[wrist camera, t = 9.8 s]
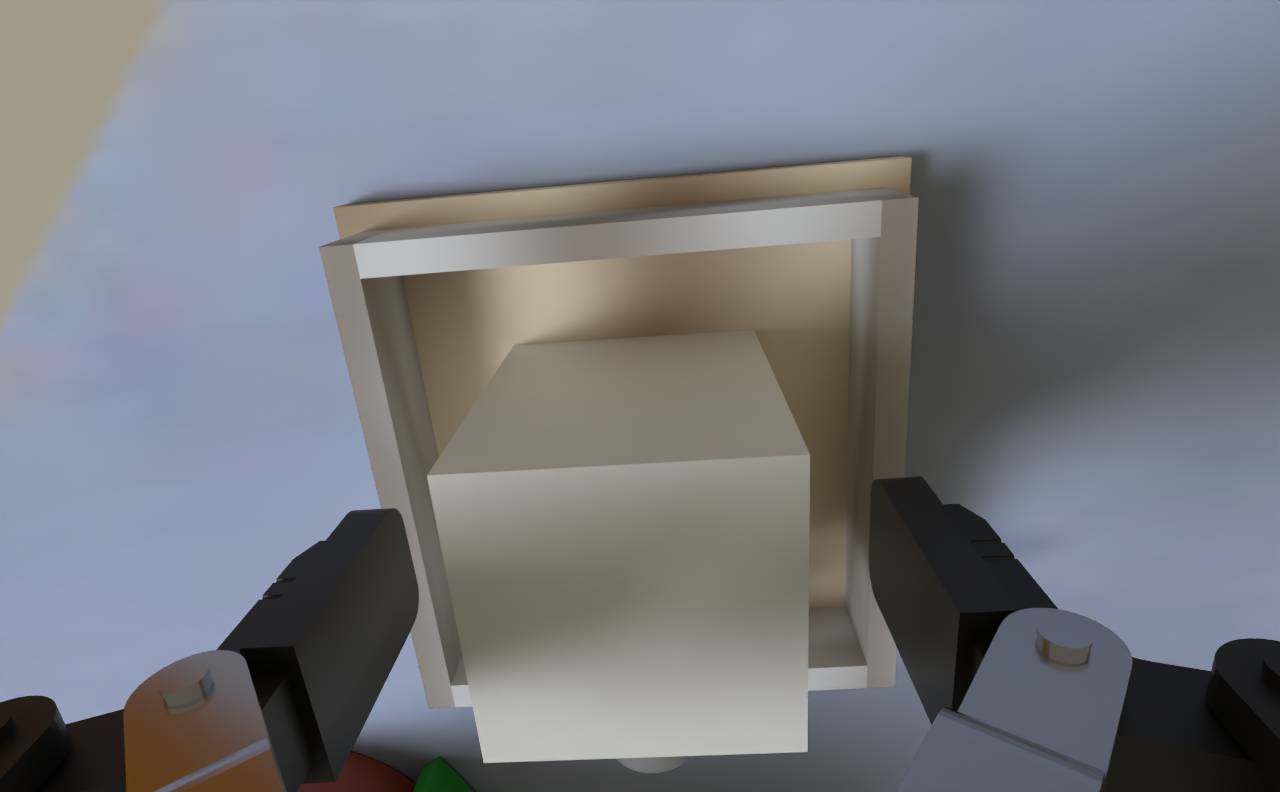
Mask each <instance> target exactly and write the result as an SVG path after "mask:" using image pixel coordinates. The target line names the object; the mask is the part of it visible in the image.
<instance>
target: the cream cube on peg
mask: <svg viewBox="0 0 1280 792" xmlns="http://www.w3.org/2000/svg"><path fill="white" fill-rule="evenodd" d="M427 480H428V485H429V490H430V495H431V500H432V505H433V510H434V515H435V520H436V525H437V530H438V535H439V540H440V545H441V550H442V555H443V560H444V565H445V570H446V575H447V581H448V586H449V591H450V596H451V601H452V606H453V611H454V616H455V621H456V626H457V631H458V636H459V641H460V646H461V651H462V656H463V661H464V666H465V671H466V676H467V681H468V686H469V691H470V696H471V701H472V707H473V712H474V717H475V722H476V727H477V732H478V737H479V742H480V747H481V752H482V757H483V762H484V763H499V762H529V761H558V760H587V759H617V760H618V761H619V762H620V763H621V764H622V765H624V766H625V767H627V768H629V769H632V770H634V771H638V772H642V773H661V772H666V771H669V770H672V769H675V768H677V767H679V766H680V765H682V764H684V763H685V762H686V761H688V760H689V759H690V758H691V757H692V756H704V755H734V754H763V753H792V752H808V636H809V518H810V453H809V451H808V449H807V447H806V444H805V442H804V440H803V438H802V435H801V433H800V431H799V429H798V427H797V424H796V422H795V420H794V418H793V415H792V413H791V411H790V409H789V407H788V404H787V402H786V400H785V398H784V395H783V393H782V391H781V389H780V387H779V384H778V382H777V380H776V378H775V375H774V373H773V371H772V369H771V367H770V364H769V362H768V360H767V358H766V355H765V353H764V351H763V349H762V347H761V344H760V342H759V340H758V338H757V335H756V333H755V331H754V330H740V331H725V332H709V333H694V334H678V335H663V336H647V337H632V338H616V339H601V340H585V341H570V342H554V343H539V344H523V345H513V347H512V348H511V350H510V351H509V353H508V354H507V356H506V357H505V359H504V360H503V362H502V363H501V365H500V366H499V368H498V369H497V371H496V372H495V374H494V375H493V377H492V378H491V380H490V381H489V383H488V384H487V386H486V387H485V389H484V390H483V392H482V393H481V395H480V396H479V398H478V399H477V401H476V402H475V404H474V405H473V407H472V408H471V410H470V411H469V413H468V414H467V416H466V417H465V419H464V420H463V422H462V423H461V425H460V426H459V428H458V429H457V431H456V432H455V434H454V435H453V437H452V438H451V440H450V441H449V443H448V444H447V446H446V447H445V449H444V450H443V452H442V453H441V455H440V456H439V458H438V459H437V461H436V462H435V464H434V465H433V467H432V468H431V470H430V471H429V473H428V474H427Z"/></svg>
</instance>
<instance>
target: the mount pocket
mask: <svg viewBox="0 0 1280 792" xmlns="http://www.w3.org/2000/svg"><path fill="white" fill-rule="evenodd" d="M911 162H912V157H904V156H898V157H887V158H875V159H864V160H852V161H840V162H829V163H817V164H806V165H794V166H783V167H771V168H760V169H748V170H737V171H725V172H713V173H702V174H690V175H679V176H667V177H656V178H644V179H633V180H621V181H609V182H598V183H586V184H575V185H563V186H552V187H540V188H529V189H517V190H505V191H494V192H482V193H471V194H459V195H448V196H436V197H425V198H413V199H401V200H390V201H378V202H367V203H355V204H345V205H341V206H337V207H333V209H334V213H335V218H336V222H337V226H338V231H339V235H340V240H338V241H335V242H332V243H329V244H326V245H324V246H321V247H319V250H320V254H321V258H322V262H323V266H324V271H325V275H326V279H327V283H328V287H329V292H330V296H331V300H332V304H333V308H334V313H335V317H336V321H337V325H338V329H339V333H340V338H341V342H342V346H343V350H344V354H345V359H346V363H347V367H348V371H349V375H350V380H351V384H352V388H353V392H354V396H355V401H356V405H357V409H358V413H359V417H360V422H361V426H362V430H363V434H364V438H365V443H366V447H367V451H368V455H369V459H370V464H371V468H372V472H373V476H374V480H375V485H376V489H377V493H378V497H379V501H380V505H381V509H388V508H395V509H397V510H398V511H399V512H400V514H401V516H402V518H403V521H404V525H405V530H406V534H407V539H408V543H409V547H410V552H411V556H412V561H413V565H414V569H415V574H416V578H417V583H418V589H419V606H418V613H417V617H416V620H415V623H414V625H413V627H412V629H411V636H412V640H413V644H414V648H415V652H416V657H417V661H418V665H419V669H420V673H421V677H422V682H423V686H424V690H425V694H426V698H427V703H428V707H429V708H450V707H472V701H471V696H470V691H469V686H468V681H467V676H466V671H465V666H464V661H463V656H462V651H461V646H460V641H459V636H458V631H457V626H456V621H455V616H454V611H453V606H452V601H451V596H450V591H449V586H448V581H447V575H446V570H445V565H444V560H443V555H442V550H441V545H440V540H439V535H438V530H437V525H436V520H435V515H434V510H433V505H432V500H431V495H430V490H429V485H428V480H427V474H428V473H429V471H430V470H431V468H432V467H433V465H434V464H435V462H436V461H437V459H438V458H439V456H440V455H441V453H442V452H443V450H444V449H445V447H446V446H447V444H448V443H449V441H450V440H451V438H452V437H453V435H454V434H455V432H456V431H457V429H458V428H459V426H460V425H461V423H462V422H463V420H464V419H465V417H466V416H467V414H468V413H469V411H470V410H471V408H472V407H473V405H474V404H475V402H476V401H477V399H478V398H479V396H480V395H481V393H482V392H483V390H484V389H485V387H486V386H487V384H488V383H489V381H490V380H491V378H492V377H493V375H494V374H495V372H496V371H497V369H498V368H499V366H500V365H501V363H502V362H503V360H504V359H505V357H506V356H507V354H508V353H509V351H510V350H511V348H512V347H513V345H523V344H539V343H554V342H570V341H585V340H601V339H616V338H632V337H647V336H663V335H678V334H694V333H709V332H725V331H740V330H754V331H755V333H756V335H757V338H758V340H759V342H760V344H761V347H762V349H763V351H764V353H765V355H766V358H767V360H768V362H769V364H770V367H771V369H772V371H773V373H774V375H775V378H776V380H777V382H778V384H779V387H780V389H781V391H782V393H783V395H784V398H785V400H786V402H787V404H788V407H789V409H790V411H791V413H792V415H793V418H794V420H795V422H796V424H797V427H798V429H799V431H800V433H801V435H802V438H803V440H804V442H805V444H806V447H807V449H808V451H809V453H810V518H809V636H808V691H816V690H838V689H859V688H881V687H895V676H896V656H897V646H896V644H895V642H894V640H893V638H892V635H891V633H890V631H889V629H888V626H887V624H886V622H885V620H884V618H883V615H882V613H881V611H880V609H879V606H878V604H877V602H876V600H875V597H874V594H873V590H872V586H871V581H870V574H869V532H870V499H871V487H872V483H873V481H874V480H875V479H887V478H903V477H905V470H906V450H907V429H908V408H909V388H910V367H911V347H912V326H913V305H914V285H915V264H916V244H917V223H918V202H919V197H916V196H913V195H910V185H911Z"/></svg>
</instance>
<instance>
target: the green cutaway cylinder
mask: <svg viewBox="0 0 1280 792" xmlns="http://www.w3.org/2000/svg"><path fill="white" fill-rule="evenodd" d="M298 792H474V791H473V790H472V789H471V787H470V786H469V785H468V784H467V783H466V782H465V780H464V779H463V778H462V777H461V776H460V775H459V774H458V773H457V772H456V771H455V770H453V769H452V768H451V767H450V766H449V765H448V764H447V763H445V762H444V761H443V760H442V759H440V758H439V757H438V758H437V759H435V760H434V761H432V762H431V763H429V764H428V765H426V766H425V767H423V768H422V770H421V772H420V775H419V777H418V780H417V783H416V784H415V783H414V782H412V781H411V780H410V779H408V778H407V777H405V776H404V775H402V774H401V773H399V772H397V771H396V770H394V769H392V768H390V767H388V766H387V765H384V764H382V763H380V762H378V761H376V760H373V759H371V758H368V757H365V756H363V755H360V754H356V753H353V752H350V754H349V756H348V758H347V760H346V762H345V764H344V766H343V768H342V770H341V772H340V774H339V776H338V778H337V781H336V782H329V783H305V784H301V786H300V788H299V790H298Z"/></svg>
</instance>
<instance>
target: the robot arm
mask: <svg viewBox="0 0 1280 792" xmlns="http://www.w3.org/2000/svg"><path fill="white" fill-rule="evenodd" d="M869 574H870V581H871V586H872V590H873V594H874V597H875V600H876V602H877V604H878V606H879V609H880V611H881V613H882V615H883V618H884V620H885V622H886V624H887V626H888V629H889V631H890V633H891V635H892V638H893V640H894V642H895V644H896V646H897V649H898V651H899V653H900V655H901V658H902V660H903V662H904V664H905V666H906V669H907V671H908V673H909V675H910V678H911V680H912V682H913V684H914V686H915V689H916V691H917V693H918V695H919V698H920V700H921V702H922V704H923V706H924V709H925V711H926V713H927V715H928V718H929V720H930V722H931V724H932V726H931V728H930V729H929V731H928V733H927V735H926V737H925V739H924V741H923V743H922V745H921V747H920V749H919V751H918V752H917V754H916V756H915V758H914V760H913V762H912V764H911V766H910V768H909V770H908V772H907V774H906V775H905V777H904V779H903V781H902V783H901V785H900V787H899V789H898V791H897V792H1280V642H1279V641H1274V640H1267V639H1252V638H1250V639H1238V640H1234V641H1230V642H1228V643H1225V644H1223V645H1222V646H1221V647H1220V648H1218V650H1217V652H1216V653H1215V658H1214V662H1213V666H1212V670H1211V671H1206V670H1199V669H1193V668H1187V667H1181V666H1175V665H1168V664H1162V663H1156V662H1151V661H1146V660H1141V659H1137V658H1133V657H1132V656H1131V653H1130V651H1129V649H1128V647H1127V646H1126V644H1125V643H1124V642H1123V641H1122V640H1121V639H1120V638H1119V637H1118V636H1117V635H1116V634H1115V633H1114V632H1112V631H1111V630H1109V629H1108V628H1107V627H1105V626H1103V625H1101V624H1100V623H1098V622H1096V621H1094V620H1092V619H1089V618H1087V617H1085V616H1082V615H1079V614H1076V613H1073V612H1069V611H1065V610H1059V609H1058V608H1057V607H1056V606H1055V605H1054V603H1053V602H1052V601H1051V600H1050V598H1049V597H1048V596H1047V595H1046V594H1045V592H1044V591H1043V590H1042V589H1041V587H1040V586H1039V585H1038V584H1037V583H1036V581H1035V580H1034V579H1033V578H1032V576H1031V575H1030V574H1029V573H1028V572H1027V570H1026V569H1025V568H1024V567H1023V565H1022V564H1021V563H1020V562H1019V561H1018V559H1014V554H1013V553H1012V552H1011V551H1010V550H1009V548H1008V547H1007V546H1006V545H1005V543H1001V539H1000V537H999V536H998V535H997V534H996V532H995V531H994V530H993V529H992V528H991V526H990V525H989V524H988V523H987V521H986V520H985V519H983V518H981V517H980V516H978V515H976V514H975V513H973V512H971V511H969V510H968V509H966V508H964V507H963V506H961V505H959V504H949V505H943V504H942V503H941V501H940V500H939V499H938V497H937V496H936V495H935V493H934V492H933V490H932V489H931V488H930V486H929V485H928V484H927V482H926V481H925V480H924V479H923V478H922V477H903V478H887V479H875V480H874V481H873V483H872V487H871V499H870V532H869ZM418 606H419V589H418V583H417V578H416V574H415V569H414V565H413V561H412V556H411V552H410V547H409V543H408V539H407V534H406V530H405V525H404V521H403V518H402V516H401V514H400V512H399V511H398V510H397V509H395V508H388V509H372V510H356V511H351V512H349V513H348V514H347V515H346V516H345V517H344V519H343V520H342V521H341V522H340V524H339V525H338V526H337V527H336V529H335V530H334V531H333V532H332V534H331V535H330V536H329V537H328V538H327V540H326V541H319V542H318V543H316V544H315V545H313V546H312V547H310V548H309V549H308V550H306V551H305V552H303V553H302V554H300V555H299V556H297V557H296V558H294V559H293V560H292V561H291V563H290V564H289V565H288V566H287V567H286V568H285V570H284V571H283V572H282V573H281V574H280V576H279V577H278V578H277V582H276V583H273V584H272V585H271V586H270V587H269V589H268V590H267V591H266V592H265V593H264V594H263V599H262V600H258V602H257V603H256V604H255V605H254V606H253V607H252V609H251V610H250V611H249V612H248V613H247V615H246V616H245V617H244V618H243V619H242V621H241V622H240V623H239V624H238V625H237V626H236V628H235V629H234V630H233V631H232V632H231V634H230V635H229V636H228V637H227V638H226V639H225V641H224V642H223V643H222V644H221V645H220V647H219V648H218V649H217V650H215V651H208V652H202V653H199V654H195V655H192V656H189V657H186V658H183V659H181V660H179V661H176V662H174V663H172V664H170V665H168V666H166V667H165V668H163V669H161V670H159V671H158V672H156V673H155V674H153V675H152V676H151V677H149V678H148V679H147V680H145V681H144V682H143V683H142V684H141V685H140V686H139V687H137V689H136V690H135V691H134V692H133V693H132V694H131V696H130V697H129V699H128V700H127V702H126V704H125V707H124V709H122V710H119V711H115V712H111V713H107V714H104V715H100V716H96V717H92V718H88V719H85V720H81V721H77V722H73V723H70V724H66V725H65V723H64V721H63V719H62V717H61V714H60V712H59V710H58V708H57V706H56V704H55V702H54V701H53V700H52V699H50V698H48V697H44V696H25V697H19V698H15V699H11V700H7V701H4V702H1V703H0V792H298V790H299V788H300V786H301V784H305V783H329V782H336V781H337V778H338V776H339V774H340V772H341V770H342V768H343V766H344V764H345V762H346V760H347V758H348V756H349V754H350V752H351V750H352V748H353V746H354V744H355V742H356V740H357V738H358V736H359V734H360V732H361V730H362V728H363V726H364V724H365V722H366V720H367V718H368V716H369V714H370V712H371V710H372V708H373V706H374V704H375V702H376V700H377V698H378V696H379V694H380V692H381V690H382V688H383V686H384V684H385V681H386V679H387V677H388V675H389V673H390V671H391V669H392V667H393V665H394V663H395V661H396V659H397V657H398V655H399V653H400V651H401V649H402V647H403V645H404V643H405V641H406V639H407V637H408V635H409V633H410V631H411V629H412V627H413V625H414V623H415V620H416V617H417V613H418Z"/></svg>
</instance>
